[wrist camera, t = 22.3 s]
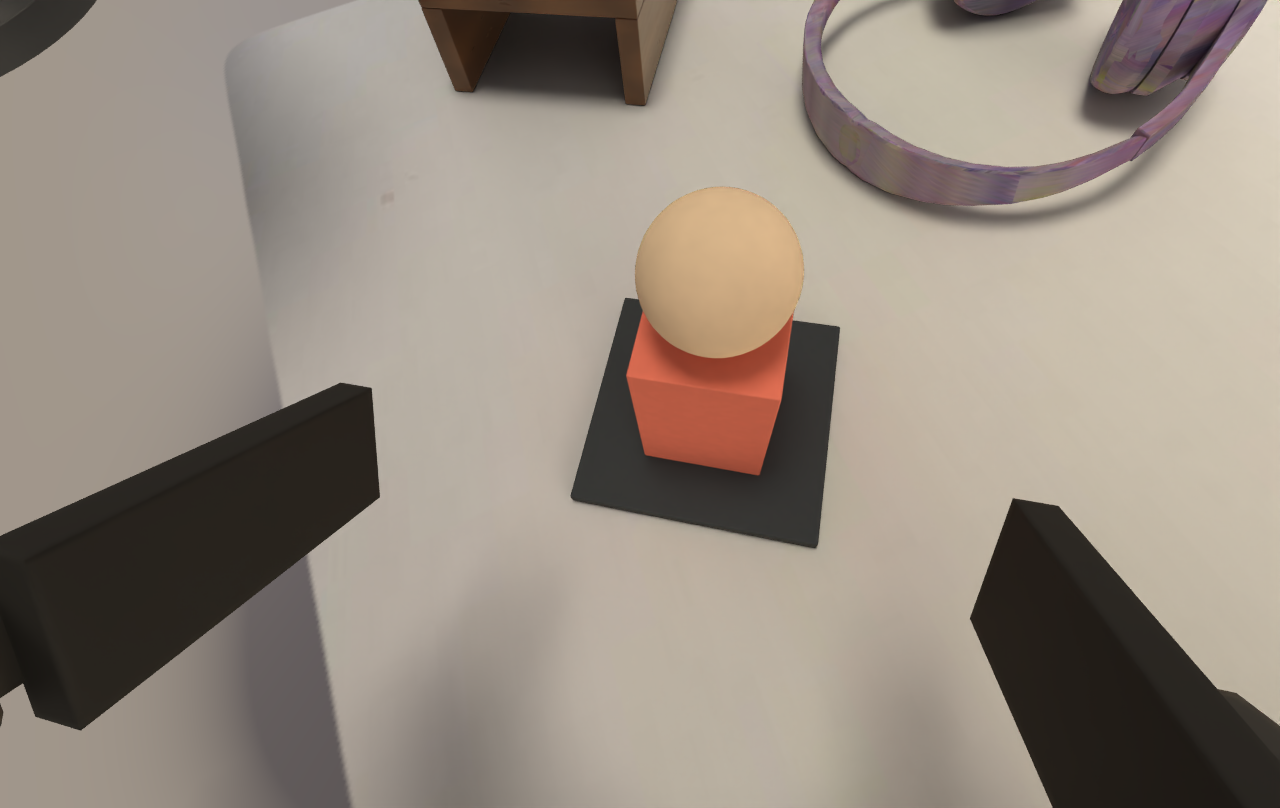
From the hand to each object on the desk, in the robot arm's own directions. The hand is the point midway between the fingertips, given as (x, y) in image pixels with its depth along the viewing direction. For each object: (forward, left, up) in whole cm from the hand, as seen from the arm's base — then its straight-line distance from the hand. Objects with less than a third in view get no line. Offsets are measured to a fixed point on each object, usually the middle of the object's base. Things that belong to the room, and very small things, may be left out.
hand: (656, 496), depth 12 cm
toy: (0, +7, -12) cm, 14 cm away
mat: (0, +7, -12) cm, 14 cm away
